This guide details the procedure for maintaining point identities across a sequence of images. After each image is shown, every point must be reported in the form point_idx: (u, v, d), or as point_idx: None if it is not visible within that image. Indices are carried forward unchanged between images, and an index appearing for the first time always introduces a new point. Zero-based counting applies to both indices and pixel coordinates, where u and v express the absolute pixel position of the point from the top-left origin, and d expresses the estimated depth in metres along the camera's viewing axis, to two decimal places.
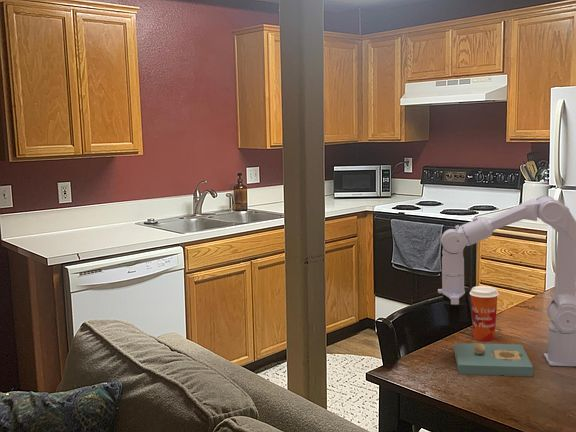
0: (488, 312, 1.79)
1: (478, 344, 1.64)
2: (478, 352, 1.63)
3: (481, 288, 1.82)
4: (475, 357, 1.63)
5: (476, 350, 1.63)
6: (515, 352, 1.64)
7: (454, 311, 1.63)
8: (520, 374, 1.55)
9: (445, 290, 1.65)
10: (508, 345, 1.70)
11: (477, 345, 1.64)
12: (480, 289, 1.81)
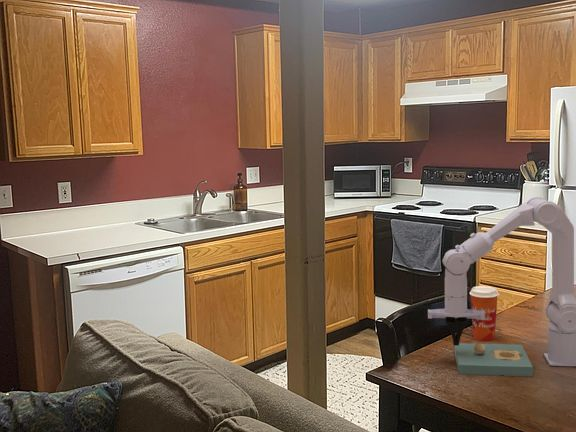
0: (488, 312, 1.79)
1: (478, 344, 1.64)
2: (478, 352, 1.63)
3: (481, 288, 1.82)
4: (475, 357, 1.63)
5: (476, 350, 1.63)
6: (515, 352, 1.64)
7: None
8: (520, 374, 1.55)
9: None
10: (508, 345, 1.70)
11: (477, 345, 1.64)
12: (480, 289, 1.81)
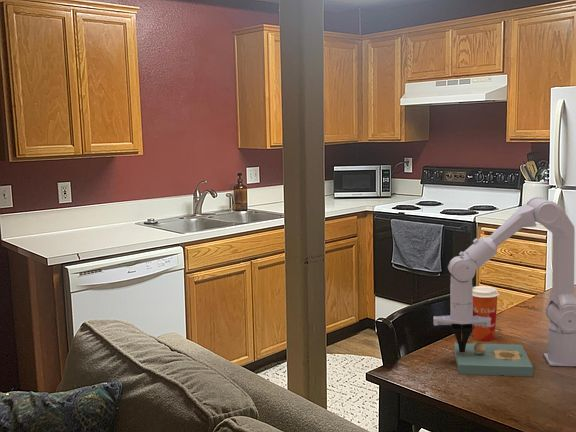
0: (488, 312, 1.79)
1: (478, 344, 1.64)
2: (478, 352, 1.63)
3: (481, 288, 1.82)
4: (475, 357, 1.63)
5: (476, 350, 1.63)
6: (515, 352, 1.64)
7: None
8: (520, 374, 1.55)
9: None
10: (508, 345, 1.70)
11: (477, 345, 1.64)
12: (480, 289, 1.81)
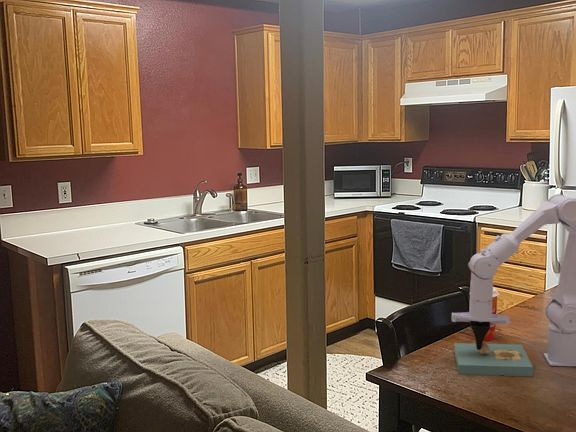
0: None
1: (487, 345, 1.63)
2: (481, 351, 1.63)
3: None
4: (475, 357, 1.63)
5: (481, 348, 1.63)
6: (515, 352, 1.64)
7: None
8: (520, 374, 1.55)
9: None
10: (508, 345, 1.70)
11: (485, 345, 1.63)
12: None
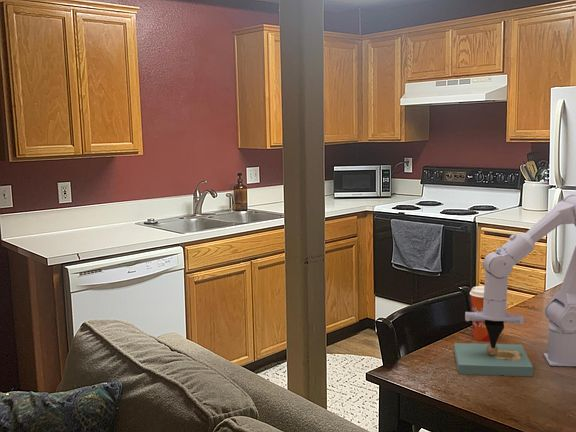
0: None
1: (497, 351, 1.63)
2: (491, 348, 1.62)
3: (481, 288, 1.82)
4: (475, 357, 1.63)
5: (494, 348, 1.62)
6: (515, 352, 1.64)
7: None
8: (520, 374, 1.55)
9: None
10: (508, 345, 1.70)
11: (497, 351, 1.63)
12: (480, 289, 1.81)
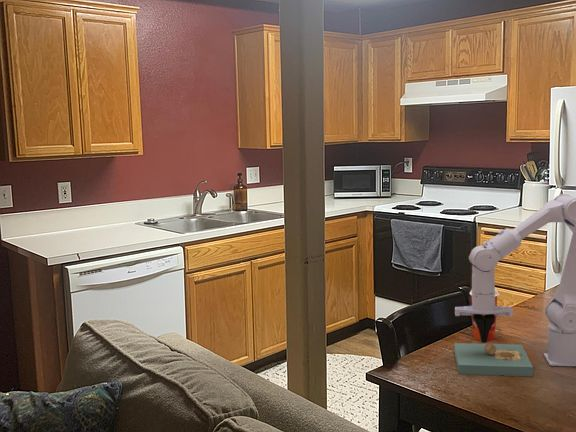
0: None
1: (495, 349, 1.63)
2: (488, 348, 1.63)
3: None
4: (475, 357, 1.63)
5: (491, 347, 1.62)
6: (515, 352, 1.64)
7: None
8: (520, 374, 1.55)
9: None
10: (508, 345, 1.70)
11: (495, 348, 1.63)
12: None
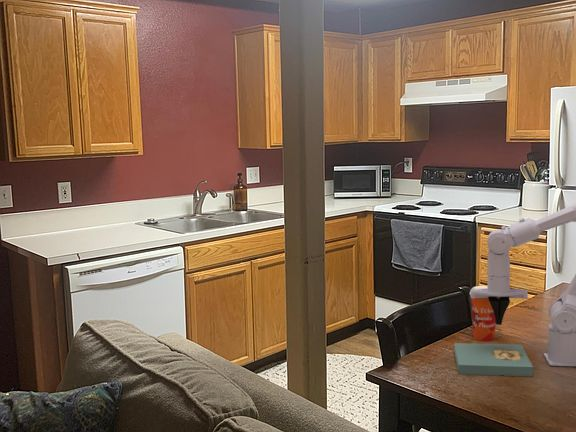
0: (488, 312, 1.79)
1: None
2: None
3: (481, 288, 1.82)
4: (475, 357, 1.63)
5: None
6: (515, 352, 1.64)
7: None
8: (520, 374, 1.55)
9: None
10: (508, 345, 1.70)
11: None
12: None
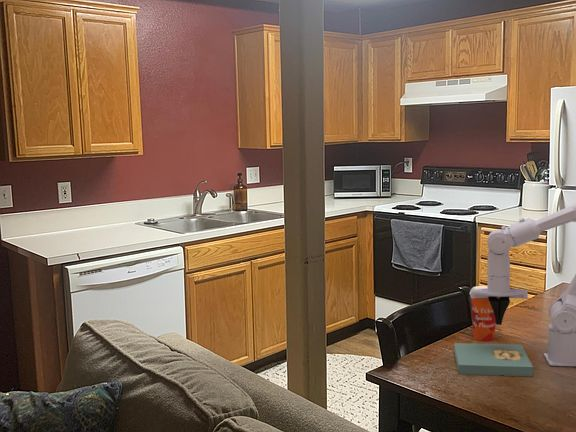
0: (488, 312, 1.79)
1: None
2: None
3: (481, 288, 1.82)
4: (475, 357, 1.63)
5: None
6: (515, 352, 1.64)
7: None
8: (520, 374, 1.55)
9: None
10: (508, 345, 1.70)
11: None
12: None
